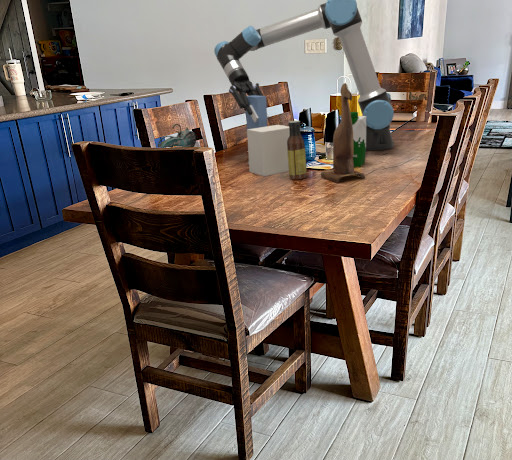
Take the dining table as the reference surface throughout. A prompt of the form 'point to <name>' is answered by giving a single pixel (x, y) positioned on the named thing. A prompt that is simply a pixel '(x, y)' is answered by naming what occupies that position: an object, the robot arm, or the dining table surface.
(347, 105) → the bird sculpture
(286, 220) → the dining table surface
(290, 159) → the sauce bottle
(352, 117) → the milk carton
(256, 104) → the blue rectangular block
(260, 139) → the light grey upright box
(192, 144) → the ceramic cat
